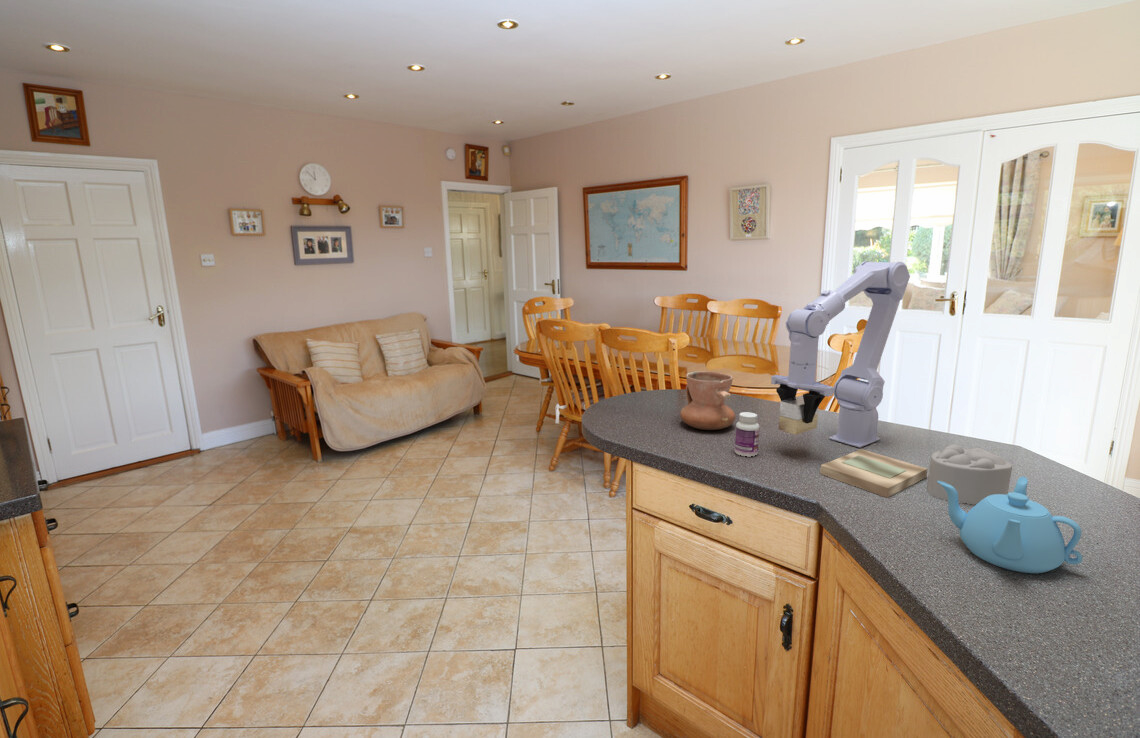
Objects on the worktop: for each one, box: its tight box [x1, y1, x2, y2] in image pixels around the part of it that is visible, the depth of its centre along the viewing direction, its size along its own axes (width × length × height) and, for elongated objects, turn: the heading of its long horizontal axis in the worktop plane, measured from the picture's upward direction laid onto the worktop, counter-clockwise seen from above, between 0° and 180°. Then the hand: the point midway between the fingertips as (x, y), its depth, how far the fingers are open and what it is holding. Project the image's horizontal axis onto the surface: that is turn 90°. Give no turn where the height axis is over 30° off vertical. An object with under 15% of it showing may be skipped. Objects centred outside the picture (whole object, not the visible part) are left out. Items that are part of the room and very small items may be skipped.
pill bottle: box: [734, 411, 760, 458], centre depth 129 cm, size 5×5×10 cm
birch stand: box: [819, 448, 929, 499], centre depth 116 cm, size 16×14×2 cm
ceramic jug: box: [680, 370, 736, 431], centre depth 149 cm, size 18×14×14 cm
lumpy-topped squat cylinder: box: [926, 443, 1013, 505], centre depth 107 cm, size 10×13×9 cm
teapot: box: [937, 476, 1084, 574], centre depth 85 cm, size 15×15×10 cm
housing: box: [778, 394, 819, 436], centre depth 127 cm, size 8×4×7 cm, turn 124°
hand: (798, 419), depth 127 cm, fingers closed on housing, 4 cm apart
